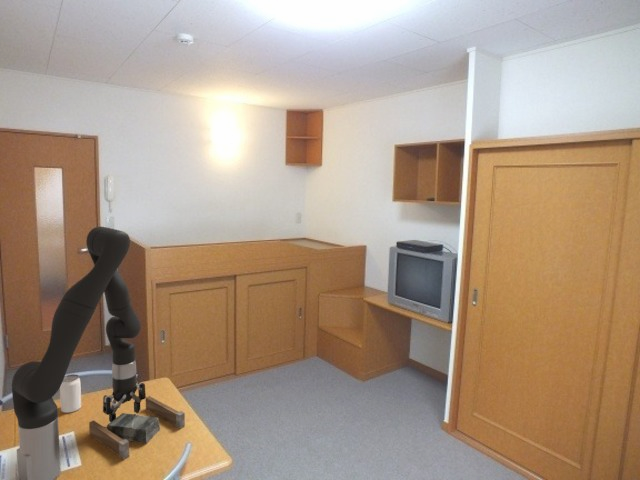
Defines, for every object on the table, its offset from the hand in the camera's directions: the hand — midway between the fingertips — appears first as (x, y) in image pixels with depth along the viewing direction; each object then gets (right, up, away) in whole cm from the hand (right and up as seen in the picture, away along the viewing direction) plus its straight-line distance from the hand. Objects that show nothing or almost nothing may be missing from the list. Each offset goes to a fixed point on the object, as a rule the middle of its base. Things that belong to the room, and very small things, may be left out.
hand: (125, 417), depth 146 cm
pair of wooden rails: (+6, -3, -4) cm, 8 cm away
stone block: (+6, -4, -5) cm, 8 cm away
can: (-24, 0, +8) cm, 25 cm away
